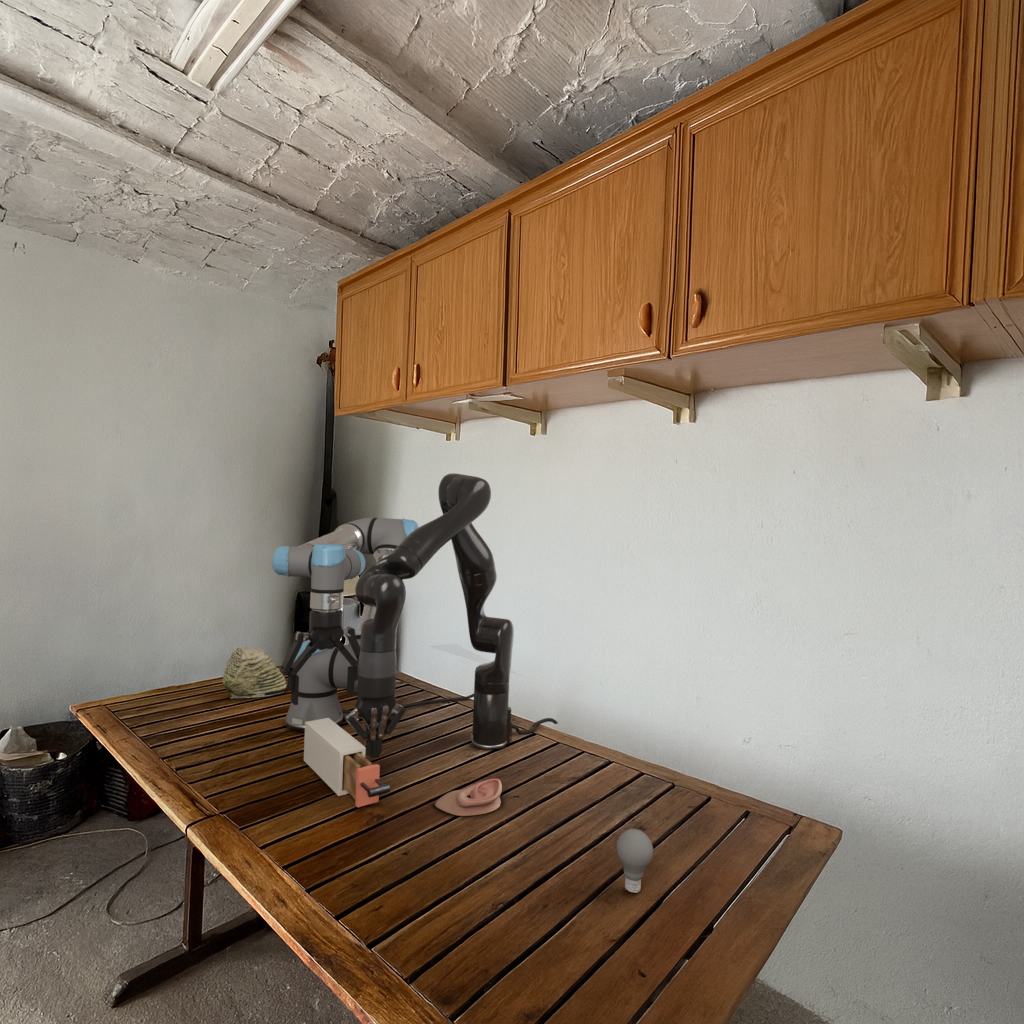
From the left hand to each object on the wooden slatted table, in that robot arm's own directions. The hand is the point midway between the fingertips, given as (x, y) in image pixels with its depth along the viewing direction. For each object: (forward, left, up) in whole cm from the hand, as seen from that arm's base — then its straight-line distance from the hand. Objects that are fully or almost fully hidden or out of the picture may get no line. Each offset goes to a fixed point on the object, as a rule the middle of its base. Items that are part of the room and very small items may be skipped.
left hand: (323, 698), depth 150 cm
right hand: (+7, +27, -4) cm, 28 cm away
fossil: (-15, -57, -15) cm, 61 cm away
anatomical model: (-9, +39, -15) cm, 43 cm away
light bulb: (-6, +79, -15) cm, 81 cm away
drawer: (+4, +18, -15) cm, 24 cm away
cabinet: (+2, +7, -15) cm, 17 cm away
